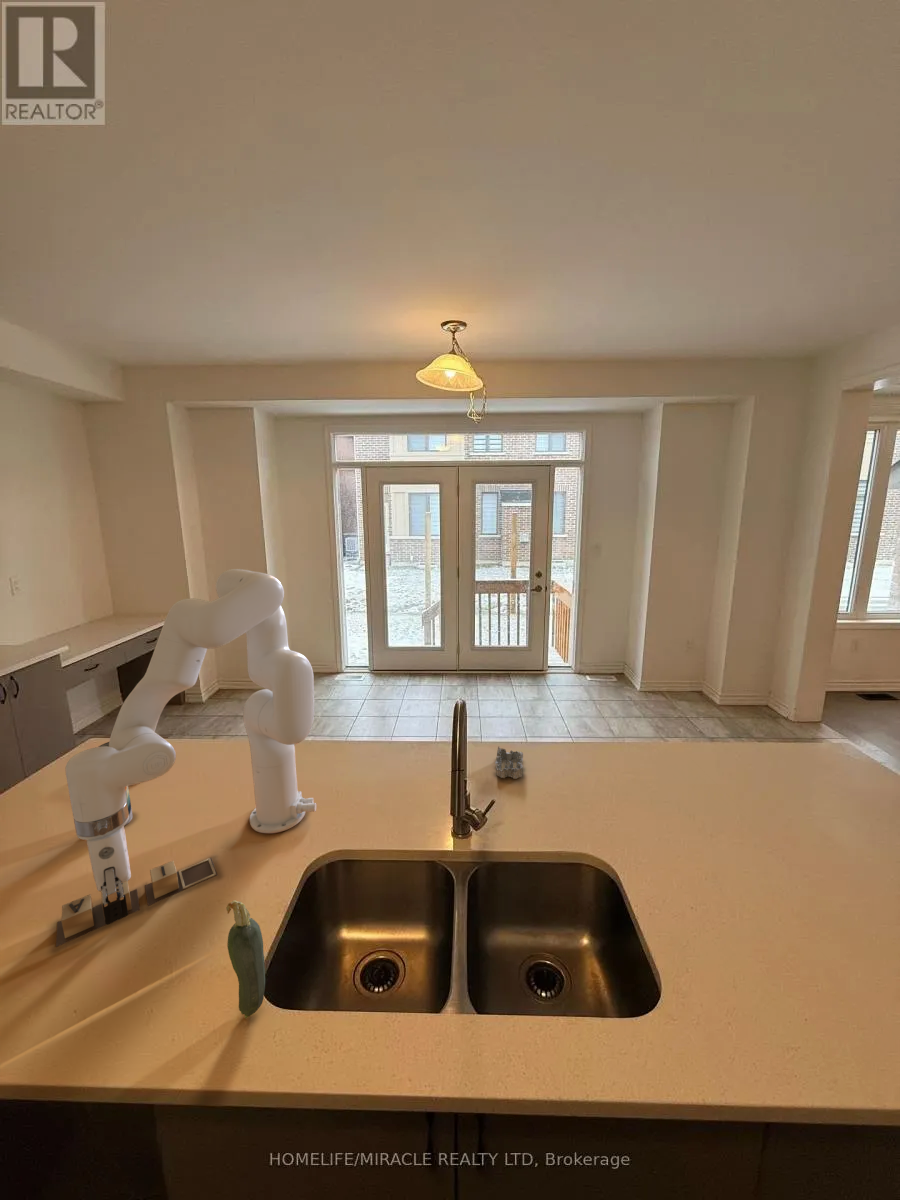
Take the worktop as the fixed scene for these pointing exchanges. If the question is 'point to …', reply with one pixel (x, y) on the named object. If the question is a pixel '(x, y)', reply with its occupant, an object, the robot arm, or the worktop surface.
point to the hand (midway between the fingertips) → (115, 901)
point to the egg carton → (509, 763)
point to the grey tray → (177, 879)
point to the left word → (84, 917)
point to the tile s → (125, 892)
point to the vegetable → (247, 958)
